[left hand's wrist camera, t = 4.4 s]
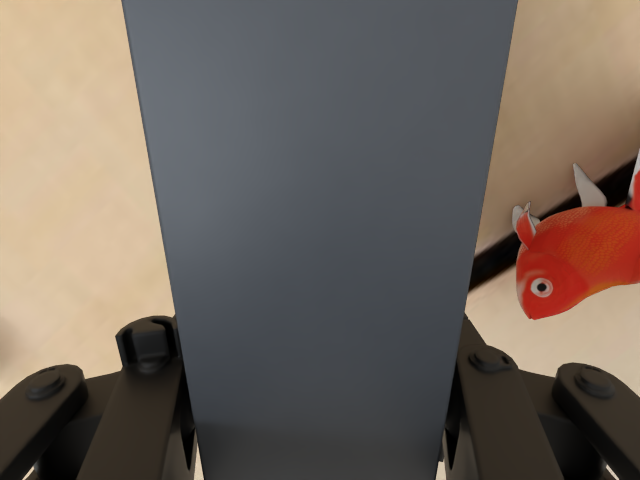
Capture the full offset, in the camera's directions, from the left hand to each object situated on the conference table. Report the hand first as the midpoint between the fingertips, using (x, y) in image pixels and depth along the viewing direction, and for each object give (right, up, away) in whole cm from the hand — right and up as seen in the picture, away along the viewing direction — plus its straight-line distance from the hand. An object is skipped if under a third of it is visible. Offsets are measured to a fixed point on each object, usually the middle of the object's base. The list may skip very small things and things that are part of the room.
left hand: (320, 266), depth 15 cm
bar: (0, +8, -2) cm, 8 cm away
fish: (+17, +5, +9) cm, 19 cm away
